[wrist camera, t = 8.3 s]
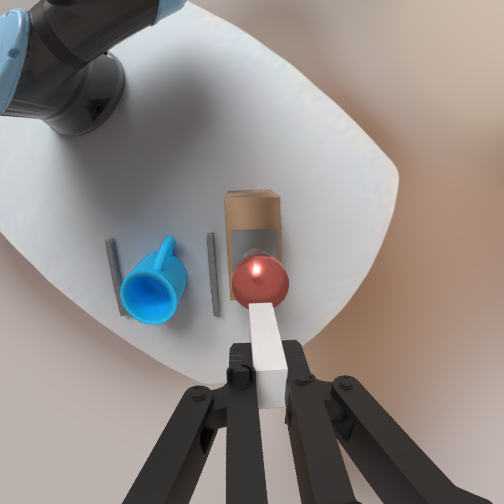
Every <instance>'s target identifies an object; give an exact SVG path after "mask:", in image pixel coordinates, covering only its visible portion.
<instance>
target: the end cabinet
mask: <svg viewBox="0 0 504 504" xmlns="http://www.w3.org/2000/svg"><path fill="white" fill-rule="evenodd" d="M225 217H226V236H227V253H228V269H229V285H230V299H231V300H236V298H235V297H234V294H233V291H232V276H233V272H234V269H235V267H236V266H237V264H238V263H239V262H240V261H241V259H242V257H243V255H244V253H245V252H246V251H248V250H250V249H252V248H261V249H263V250H265V251H266V252H267V253H268V254H269V255H270V256H273V257H274V258H276V259H277V260H278V261H279V262H280V263H281V227H280V197H279V196H278V195H277V194H275V193H274V192H272V191H271V190H249V191H228V193H227V195H226V197H225Z"/></svg>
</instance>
